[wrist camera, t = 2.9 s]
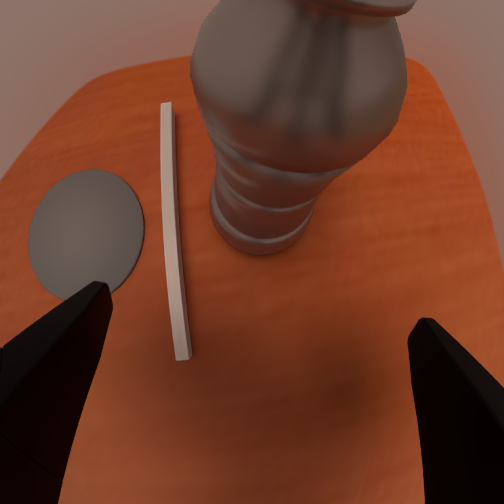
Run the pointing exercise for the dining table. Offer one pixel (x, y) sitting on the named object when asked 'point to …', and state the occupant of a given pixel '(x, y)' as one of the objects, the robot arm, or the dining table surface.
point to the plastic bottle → (292, 105)
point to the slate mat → (85, 233)
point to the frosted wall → (173, 236)
